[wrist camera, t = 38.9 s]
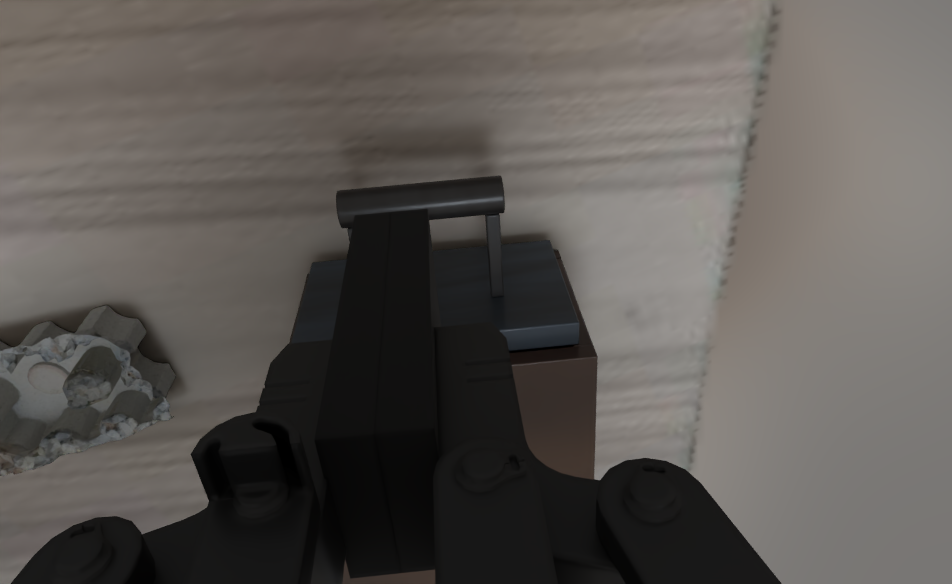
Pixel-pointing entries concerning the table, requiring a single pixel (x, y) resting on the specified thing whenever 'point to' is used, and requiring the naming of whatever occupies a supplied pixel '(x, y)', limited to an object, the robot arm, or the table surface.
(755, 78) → the table surface
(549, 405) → the cabinet
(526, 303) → the drawer
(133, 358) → the grey irregular knobbly piece
